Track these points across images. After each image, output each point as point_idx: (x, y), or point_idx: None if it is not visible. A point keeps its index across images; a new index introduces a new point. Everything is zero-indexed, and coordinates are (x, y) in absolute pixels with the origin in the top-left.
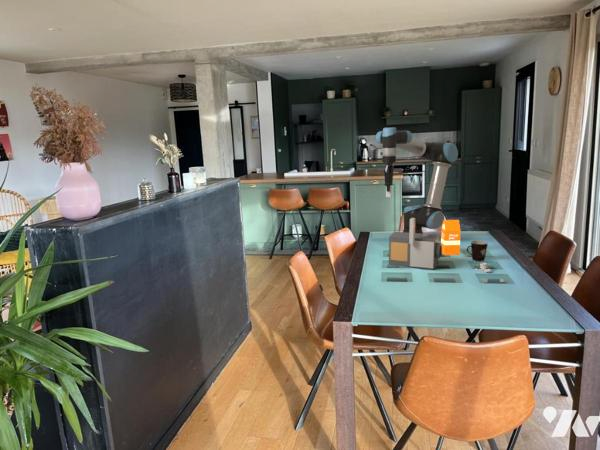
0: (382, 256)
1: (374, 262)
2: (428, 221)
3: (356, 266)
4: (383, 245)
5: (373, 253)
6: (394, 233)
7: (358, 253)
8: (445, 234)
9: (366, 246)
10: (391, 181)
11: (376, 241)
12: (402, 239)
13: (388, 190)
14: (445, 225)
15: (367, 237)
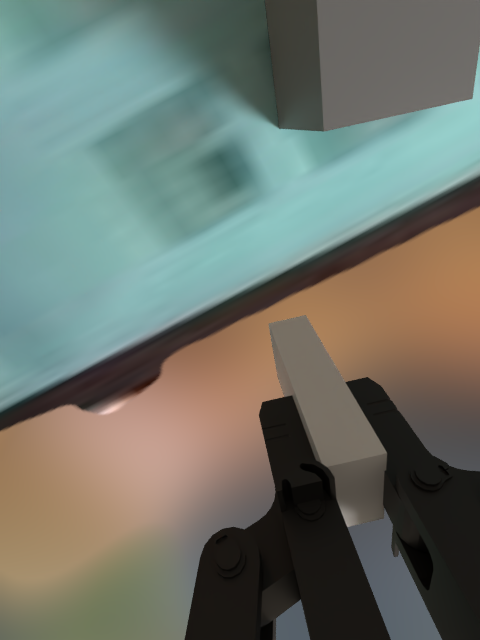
0: (265, 200)
1: (364, 185)
2: None
3: (436, 219)
4: (99, 286)
5: (242, 256)
6: (378, 105)
7: (271, 303)
8: None
9: (162, 331)
10: (332, 592)
11: (62, 341)
12: None
13: (382, 395)
14: None
15: (35, 398)
